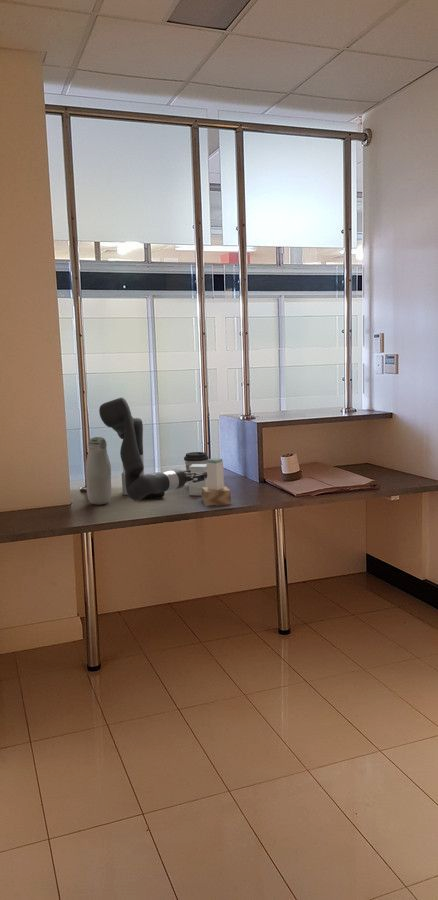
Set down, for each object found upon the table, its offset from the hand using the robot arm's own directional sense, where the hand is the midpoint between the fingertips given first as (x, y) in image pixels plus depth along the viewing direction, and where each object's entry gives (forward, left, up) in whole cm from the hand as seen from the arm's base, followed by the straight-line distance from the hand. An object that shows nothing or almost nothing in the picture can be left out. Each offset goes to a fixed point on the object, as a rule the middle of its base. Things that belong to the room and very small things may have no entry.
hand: (198, 473), depth 281 cm
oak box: (+6, +8, -14) cm, 17 cm away
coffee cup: (-8, +42, -14) cm, 45 cm away
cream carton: (+6, +8, -8) cm, 13 cm away
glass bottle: (-42, +4, -14) cm, 45 cm away
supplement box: (-4, +25, -14) cm, 28 cm away
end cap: (-23, +16, -14) cm, 31 cm away
